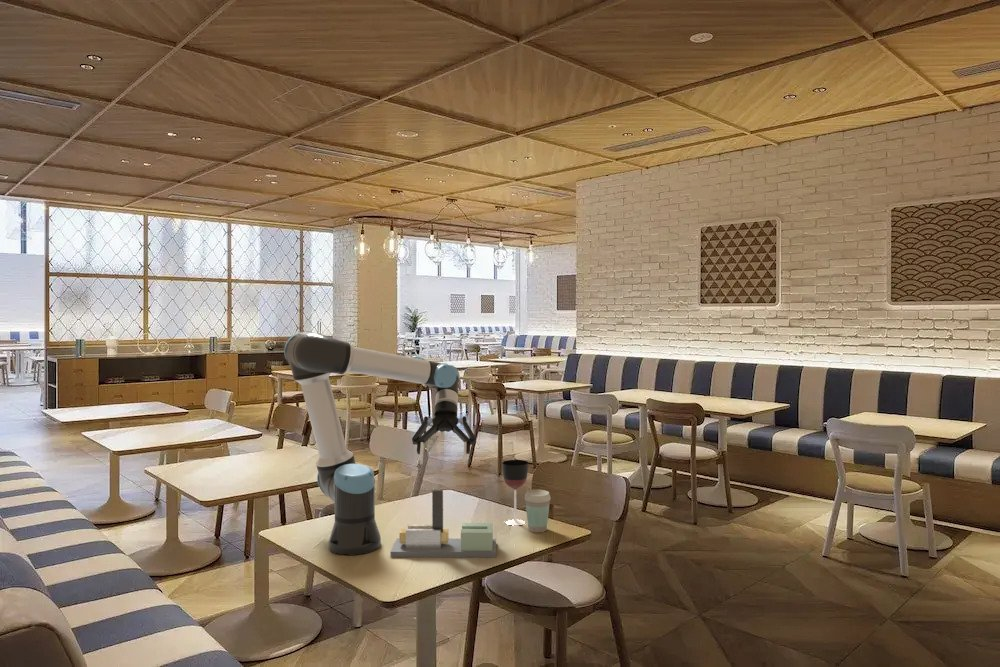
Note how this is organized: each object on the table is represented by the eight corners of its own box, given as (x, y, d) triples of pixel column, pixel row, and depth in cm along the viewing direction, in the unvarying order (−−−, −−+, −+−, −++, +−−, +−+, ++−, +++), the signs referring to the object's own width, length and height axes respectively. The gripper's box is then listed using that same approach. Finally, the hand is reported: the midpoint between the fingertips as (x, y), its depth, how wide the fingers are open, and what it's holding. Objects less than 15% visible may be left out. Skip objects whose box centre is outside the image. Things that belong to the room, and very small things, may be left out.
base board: (390, 557, 190) (390, 551, 190) (396, 543, 201) (396, 538, 201) (495, 557, 189) (495, 552, 189) (496, 543, 200) (496, 538, 200)
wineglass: (498, 520, 222) (498, 461, 221) (522, 517, 225) (522, 458, 224) (507, 528, 215) (507, 466, 214) (532, 524, 218) (532, 464, 217)
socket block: (460, 550, 191) (460, 532, 190) (462, 539, 199) (462, 522, 199) (492, 550, 191) (492, 532, 190) (492, 539, 199) (492, 522, 199)
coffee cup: (551, 525, 217) (551, 489, 216) (550, 534, 208) (550, 496, 208) (524, 525, 218) (524, 488, 217) (523, 533, 209) (523, 496, 209)
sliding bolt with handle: (399, 543, 194) (399, 491, 193) (401, 539, 197) (400, 488, 196) (447, 543, 193) (447, 491, 193) (448, 539, 197) (448, 488, 196)
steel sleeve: (405, 548, 193) (405, 530, 192) (408, 541, 198) (408, 524, 198) (440, 548, 192) (440, 530, 192) (442, 541, 198) (442, 524, 197)
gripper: (484, 412, 223) (483, 468, 209) (409, 413, 223) (403, 468, 209) (483, 399, 218) (482, 455, 203) (407, 399, 218) (401, 455, 203)
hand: (442, 462), depth 206 cm, fingers open, 13 cm apart
